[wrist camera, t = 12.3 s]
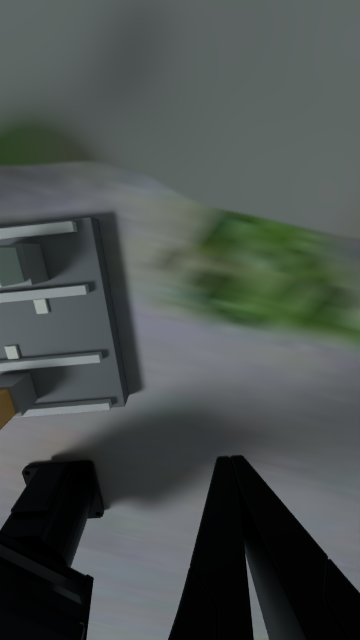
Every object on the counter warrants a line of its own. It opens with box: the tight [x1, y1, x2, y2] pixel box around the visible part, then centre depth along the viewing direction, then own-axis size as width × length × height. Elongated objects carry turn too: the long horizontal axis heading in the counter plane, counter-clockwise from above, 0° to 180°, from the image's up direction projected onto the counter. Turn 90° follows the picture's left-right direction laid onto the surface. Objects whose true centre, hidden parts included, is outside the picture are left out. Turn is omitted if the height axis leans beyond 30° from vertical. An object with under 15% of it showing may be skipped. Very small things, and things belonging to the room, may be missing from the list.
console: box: [0, 217, 129, 418], centre depth 18 cm, size 14×11×2 cm
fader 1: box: [0, 243, 49, 288], centre depth 15 cm, size 2×2×4 cm
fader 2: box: [0, 372, 38, 430], centre depth 17 cm, size 2×2×4 cm
